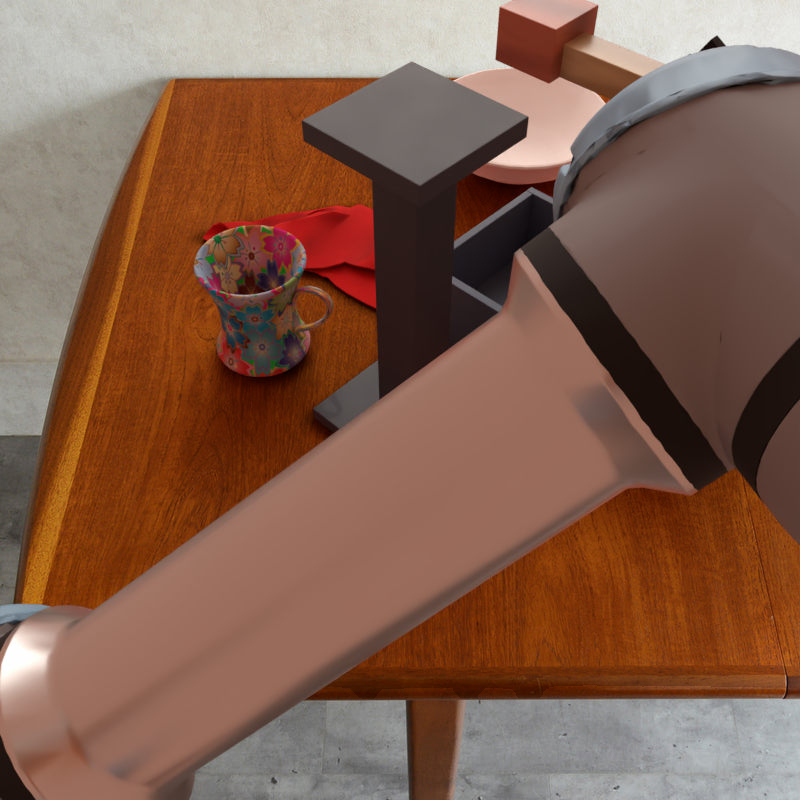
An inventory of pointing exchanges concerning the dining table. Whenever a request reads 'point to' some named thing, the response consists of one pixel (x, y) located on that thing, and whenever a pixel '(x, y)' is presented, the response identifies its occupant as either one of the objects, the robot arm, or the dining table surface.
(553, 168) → the bowl
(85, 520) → the dining table surface
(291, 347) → the mug
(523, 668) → the dining table surface
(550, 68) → the mallet
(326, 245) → the cloth
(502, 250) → the bin
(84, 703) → the robot arm
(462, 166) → the stand
